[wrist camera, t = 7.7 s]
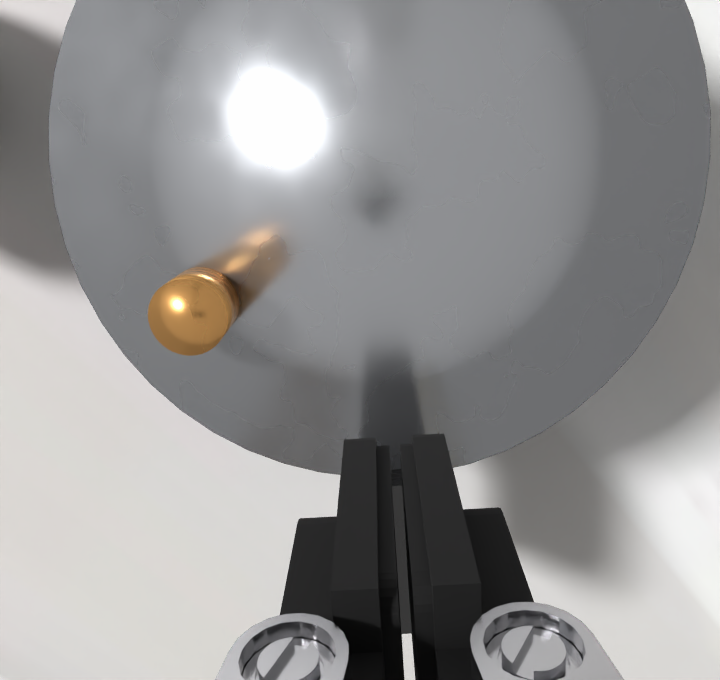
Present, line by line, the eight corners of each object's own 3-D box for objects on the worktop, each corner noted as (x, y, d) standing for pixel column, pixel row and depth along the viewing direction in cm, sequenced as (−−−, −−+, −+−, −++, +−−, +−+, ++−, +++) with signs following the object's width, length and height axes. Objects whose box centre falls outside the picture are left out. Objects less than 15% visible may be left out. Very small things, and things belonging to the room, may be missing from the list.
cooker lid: (-4, -191, 20) (-74, -253, 16) (719, -259, 19) (787, -337, 16) (147, 604, 27) (118, 663, 24) (664, 578, 26) (703, 635, 23)
